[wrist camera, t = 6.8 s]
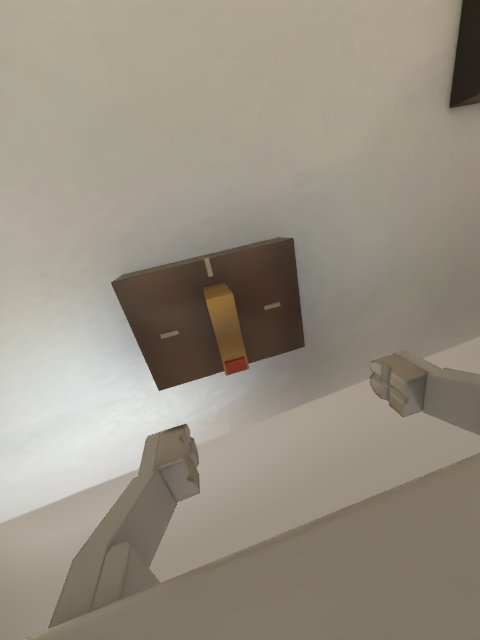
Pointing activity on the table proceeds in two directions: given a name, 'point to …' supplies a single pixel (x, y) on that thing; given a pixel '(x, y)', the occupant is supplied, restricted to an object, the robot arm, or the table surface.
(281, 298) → the plate
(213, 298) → the thumb turn
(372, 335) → the table surface
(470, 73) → the green mushroom switch plate
